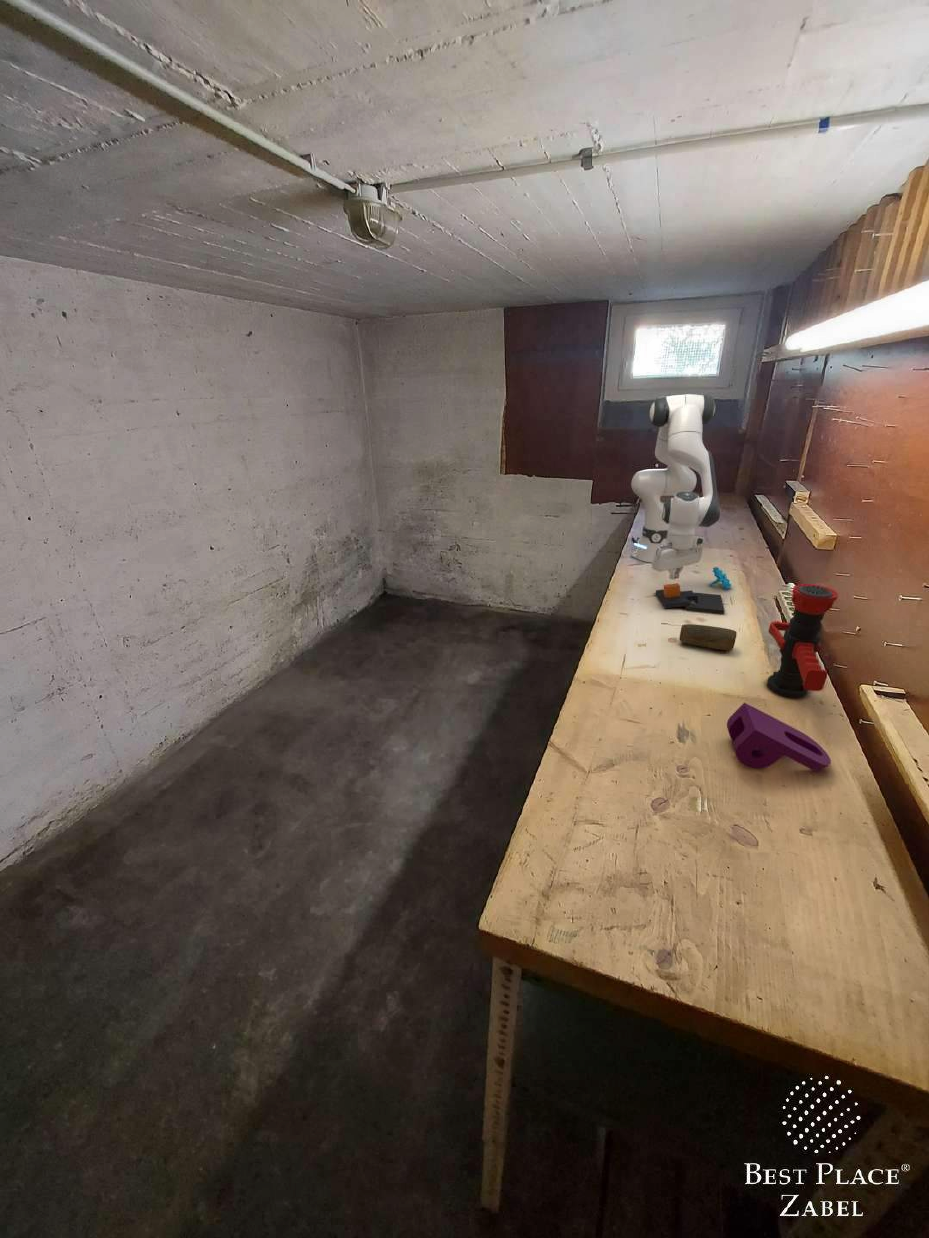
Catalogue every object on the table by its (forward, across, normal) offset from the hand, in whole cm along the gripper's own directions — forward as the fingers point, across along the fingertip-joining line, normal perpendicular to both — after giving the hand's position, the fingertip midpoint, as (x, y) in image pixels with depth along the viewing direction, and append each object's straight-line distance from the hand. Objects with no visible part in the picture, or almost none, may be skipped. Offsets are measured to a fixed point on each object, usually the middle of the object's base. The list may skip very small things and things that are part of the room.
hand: (674, 578), depth 172 cm
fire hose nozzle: (+9, -19, -56) cm, 60 cm away
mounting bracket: (+10, -44, -69) cm, 82 cm away
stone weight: (+9, -17, -29) cm, 35 cm away
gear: (+9, +26, 0) cm, 28 cm away
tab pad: (+8, +2, -1) cm, 8 cm away
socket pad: (+9, +7, -8) cm, 14 cm away
